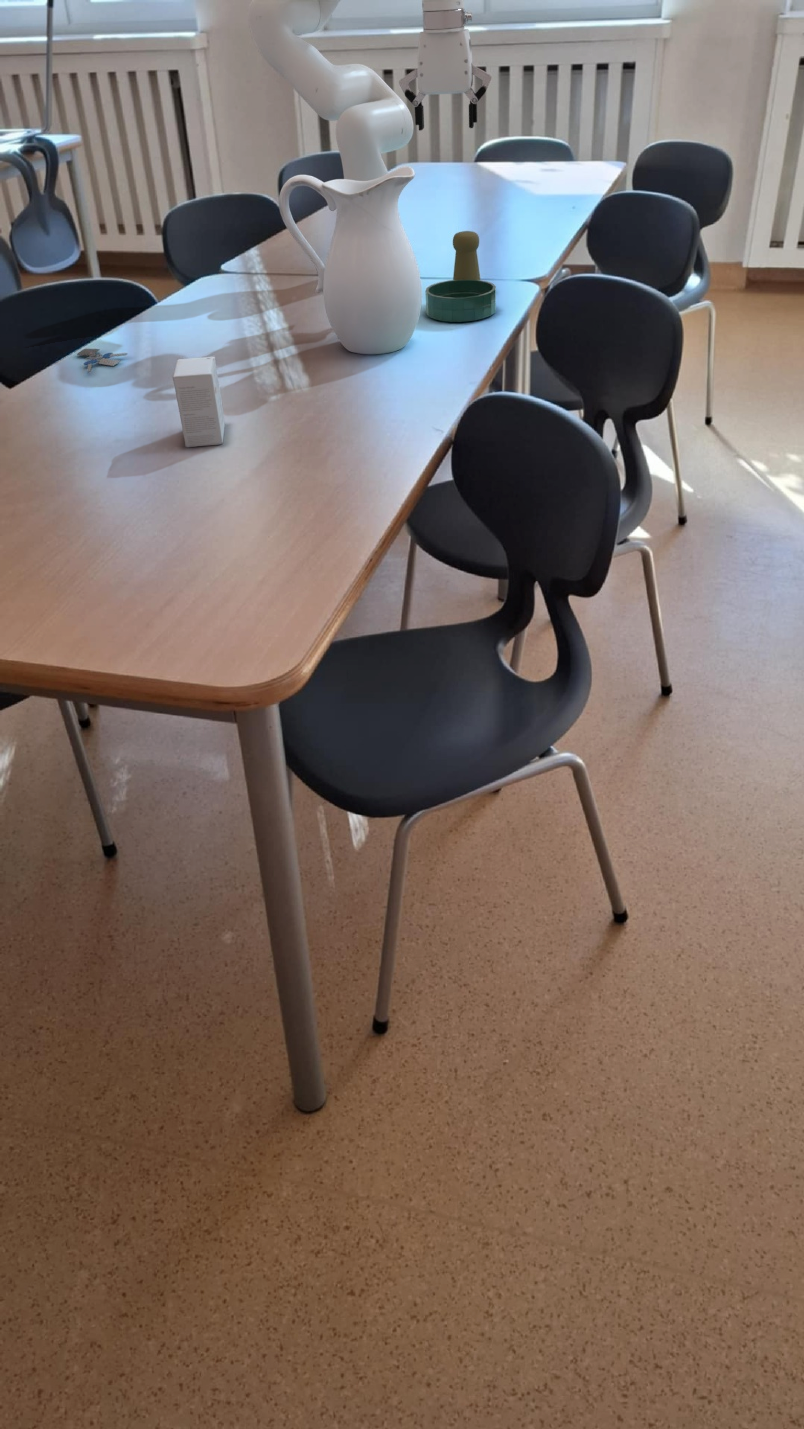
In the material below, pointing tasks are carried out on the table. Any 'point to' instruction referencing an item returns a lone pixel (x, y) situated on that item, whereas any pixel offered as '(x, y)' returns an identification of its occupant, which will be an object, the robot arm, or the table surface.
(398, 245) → the pitcher
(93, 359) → the key chain
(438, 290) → the bowl
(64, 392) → the table surface
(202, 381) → the small box
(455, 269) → the cork
